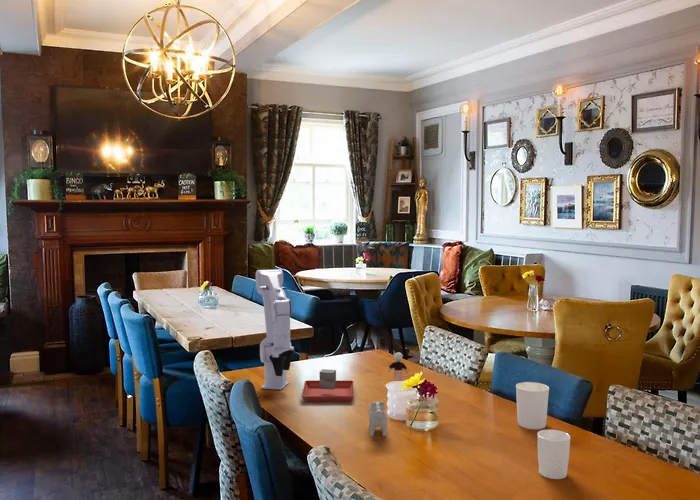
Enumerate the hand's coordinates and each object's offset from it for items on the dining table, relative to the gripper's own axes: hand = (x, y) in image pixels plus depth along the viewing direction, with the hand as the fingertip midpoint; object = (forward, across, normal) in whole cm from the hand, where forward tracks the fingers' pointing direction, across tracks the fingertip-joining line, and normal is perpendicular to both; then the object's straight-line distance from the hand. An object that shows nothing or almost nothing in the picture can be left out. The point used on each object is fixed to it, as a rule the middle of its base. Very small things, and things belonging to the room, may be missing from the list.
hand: (282, 372), depth 218 cm
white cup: (+10, -43, -86) cm, 97 cm away
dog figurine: (+10, -24, -38) cm, 46 cm away
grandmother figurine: (+10, +24, -37) cm, 45 cm away
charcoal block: (+7, +8, -14) cm, 18 cm away
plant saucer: (+10, +8, -14) cm, 19 cm away
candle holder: (+10, -8, -83) cm, 84 cm away
